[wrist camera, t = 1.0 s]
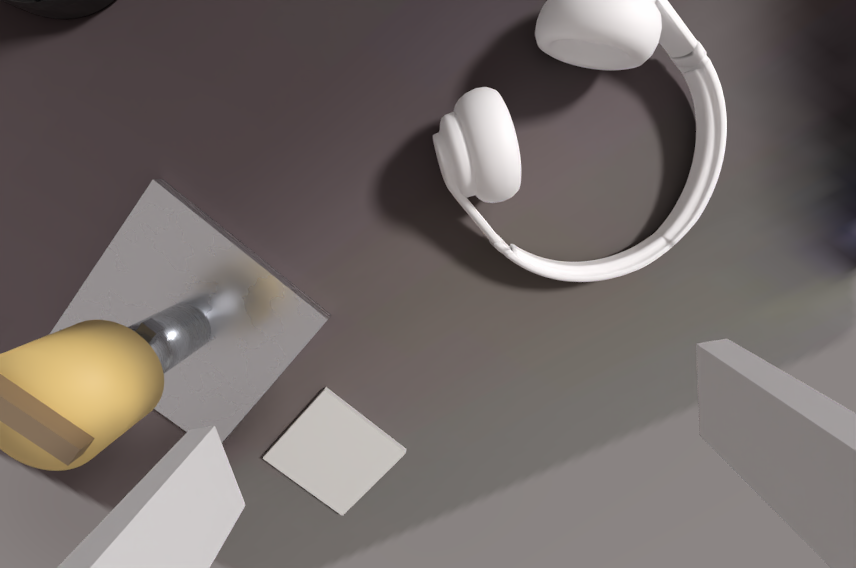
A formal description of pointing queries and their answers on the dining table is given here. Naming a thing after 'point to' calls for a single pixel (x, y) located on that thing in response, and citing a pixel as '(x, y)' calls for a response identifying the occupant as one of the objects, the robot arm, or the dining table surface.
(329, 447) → the mat
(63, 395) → the cap
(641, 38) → the headphones
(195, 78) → the dining table surface
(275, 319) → the post fixture
